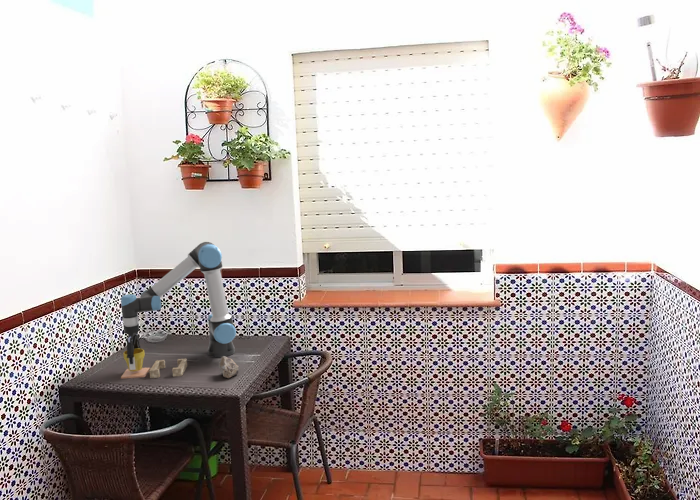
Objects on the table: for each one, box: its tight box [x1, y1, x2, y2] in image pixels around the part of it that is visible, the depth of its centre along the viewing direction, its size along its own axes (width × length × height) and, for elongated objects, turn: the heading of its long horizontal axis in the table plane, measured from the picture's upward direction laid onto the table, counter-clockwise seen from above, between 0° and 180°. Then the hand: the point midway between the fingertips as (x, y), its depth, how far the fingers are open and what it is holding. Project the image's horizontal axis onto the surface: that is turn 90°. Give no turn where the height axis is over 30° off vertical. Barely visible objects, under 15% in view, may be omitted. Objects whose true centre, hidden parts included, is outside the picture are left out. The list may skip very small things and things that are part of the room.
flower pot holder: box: [148, 358, 188, 379], centre depth 343 cm, size 16×16×4 cm
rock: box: [218, 356, 240, 379], centre depth 332 cm, size 9×12×10 cm
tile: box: [120, 367, 151, 379], centre depth 342 cm, size 12×12×1 cm
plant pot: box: [123, 347, 146, 371], centre depth 341 cm, size 10×10×10 cm
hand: (135, 366), depth 342 cm, fingers closed on plant pot, 10 cm apart
